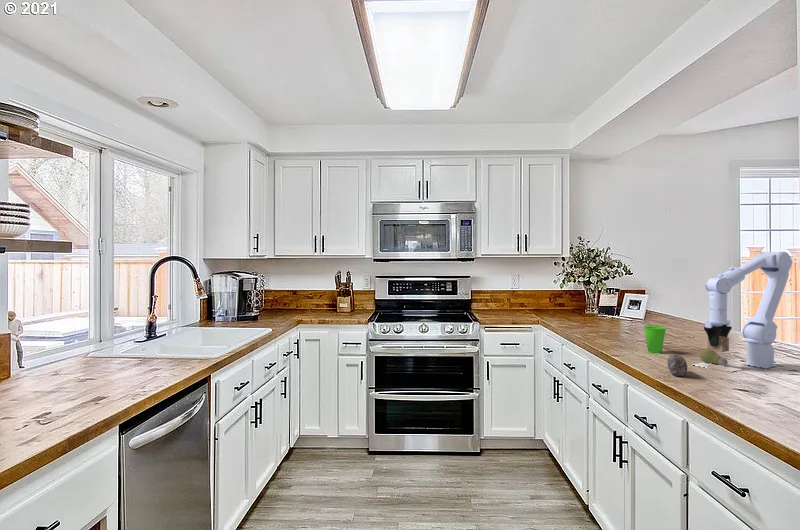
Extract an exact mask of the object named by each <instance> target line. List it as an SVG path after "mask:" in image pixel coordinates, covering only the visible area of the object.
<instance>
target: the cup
mask: <svg viewBox="0 0 800 530" xmlns="http://www.w3.org/2000/svg"><path fill="white" fill-rule="evenodd" d="M643 329H644V335H645V341H646V347H647V351H648V353H649V352H650V354H655V353H660V354H662V351H663V347H664V342H665V336H666V330H667V327H665V326H657V325H644V326H643Z"/></svg>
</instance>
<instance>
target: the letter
mask: <svg viewBox="0 0 800 530" xmlns="http://www.w3.org/2000/svg"><path fill="white" fill-rule="evenodd" d="M692 365H695V366H694V367H698V366H700V367H699V368H703V367H705V369H708V368H707V366H708V365H709V363H705V362H703V361H702V362H699V363H694V364H692ZM706 365H707V366H706Z"/></svg>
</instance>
